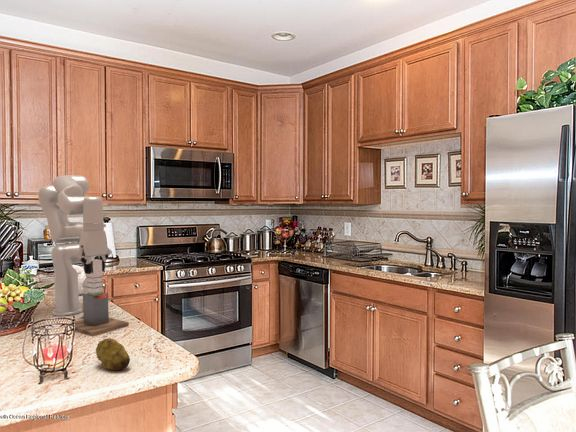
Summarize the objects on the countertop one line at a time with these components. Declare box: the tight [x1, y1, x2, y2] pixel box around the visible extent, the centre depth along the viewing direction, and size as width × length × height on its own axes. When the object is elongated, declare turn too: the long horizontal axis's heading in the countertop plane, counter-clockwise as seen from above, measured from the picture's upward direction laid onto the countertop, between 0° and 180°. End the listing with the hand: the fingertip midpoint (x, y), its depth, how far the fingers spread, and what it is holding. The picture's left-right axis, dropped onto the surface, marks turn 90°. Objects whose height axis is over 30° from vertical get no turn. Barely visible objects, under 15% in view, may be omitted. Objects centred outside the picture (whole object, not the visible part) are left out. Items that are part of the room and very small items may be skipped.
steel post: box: [87, 258, 104, 296], centre depth 180 cm, size 4×4×20 cm
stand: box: [74, 292, 130, 337], centre depth 180 cm, size 20×16×14 cm
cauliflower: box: [72, 264, 86, 296], centre depth 243 cm, size 20×18×16 cm
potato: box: [95, 337, 131, 371], centre depth 138 cm, size 8×13×8 cm, turn 34°
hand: (94, 272), depth 180 cm, fingers open, 5 cm apart
